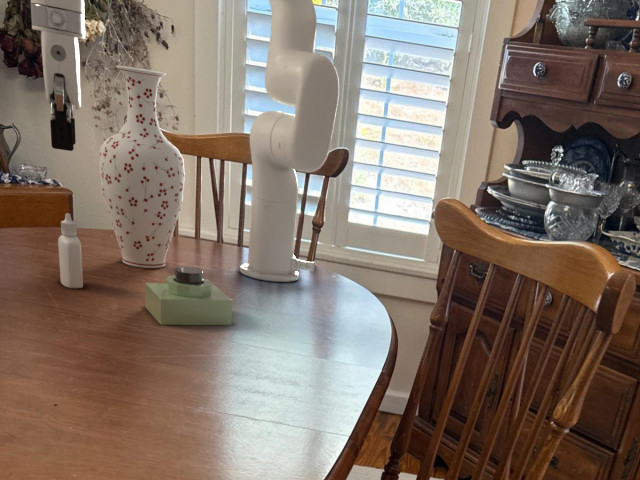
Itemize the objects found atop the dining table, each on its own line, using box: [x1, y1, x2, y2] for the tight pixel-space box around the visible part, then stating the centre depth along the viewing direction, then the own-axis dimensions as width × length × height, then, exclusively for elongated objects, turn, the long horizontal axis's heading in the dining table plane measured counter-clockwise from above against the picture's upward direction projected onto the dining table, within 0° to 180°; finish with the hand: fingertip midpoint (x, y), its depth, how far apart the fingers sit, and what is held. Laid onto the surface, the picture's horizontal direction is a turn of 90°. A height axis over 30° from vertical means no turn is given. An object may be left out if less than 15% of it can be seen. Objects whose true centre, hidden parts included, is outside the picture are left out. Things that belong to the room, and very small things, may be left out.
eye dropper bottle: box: [57, 213, 84, 289], centre depth 135 cm, size 4×6×12 cm
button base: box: [144, 274, 234, 326], centre depth 131 cm, size 12×10×6 cm
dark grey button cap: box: [174, 266, 204, 285], centre depth 129 cm, size 4×4×2 cm
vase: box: [98, 65, 186, 269], centre depth 151 cm, size 16×16×35 cm
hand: (64, 146), depth 126 cm, fingers open, 9 cm apart
